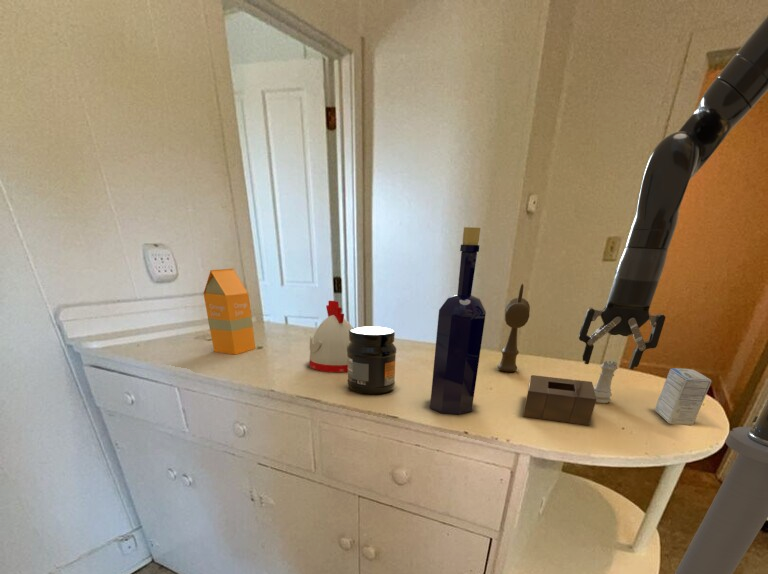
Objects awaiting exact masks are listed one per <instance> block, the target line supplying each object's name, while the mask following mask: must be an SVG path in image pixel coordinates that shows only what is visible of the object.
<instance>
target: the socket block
mask: <svg viewBox="0 0 768 574" xmlns="http://www.w3.org/2000/svg"><path fill="white" fill-rule="evenodd" d="M593 384H594V383H593V381H588V380H580V379H570V378H561V377H553V376H543V375H536V374H535V375H534V374H531V375H530V379H529V384H528V388H527V393H526V397H525V402H524V407H523V409H524V410H523V414H522V417H524V418H531V419H538V420H545V421H546V420H547V421H553V422H559V423H560V422H562V423H569V424H575V425H583V426H590V423H591V420H592V415H593V413H594V409H595V406H596V404H597V403H596V400H597V399H596V395H595V391H594V387H595V386H594V385H593Z"/></svg>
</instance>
